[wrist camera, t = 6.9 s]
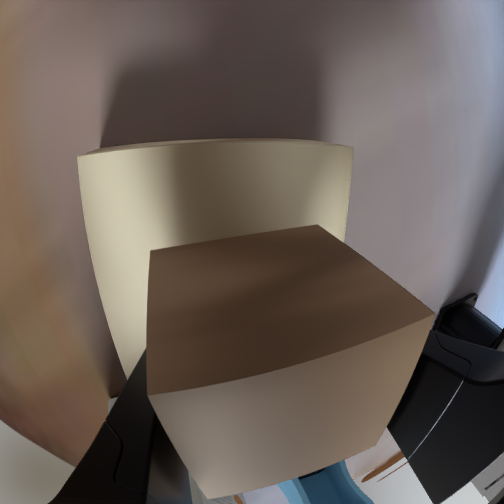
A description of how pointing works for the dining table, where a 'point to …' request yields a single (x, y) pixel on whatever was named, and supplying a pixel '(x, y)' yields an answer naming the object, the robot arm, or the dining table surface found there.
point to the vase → (325, 488)
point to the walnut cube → (275, 354)
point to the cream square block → (197, 208)
